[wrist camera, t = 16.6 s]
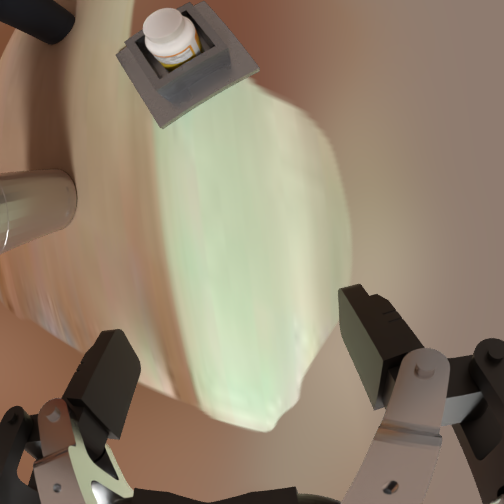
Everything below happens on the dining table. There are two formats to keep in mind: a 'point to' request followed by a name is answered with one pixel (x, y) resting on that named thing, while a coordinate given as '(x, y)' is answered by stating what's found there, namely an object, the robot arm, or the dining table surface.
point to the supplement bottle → (171, 38)
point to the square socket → (187, 67)
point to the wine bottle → (38, 18)
